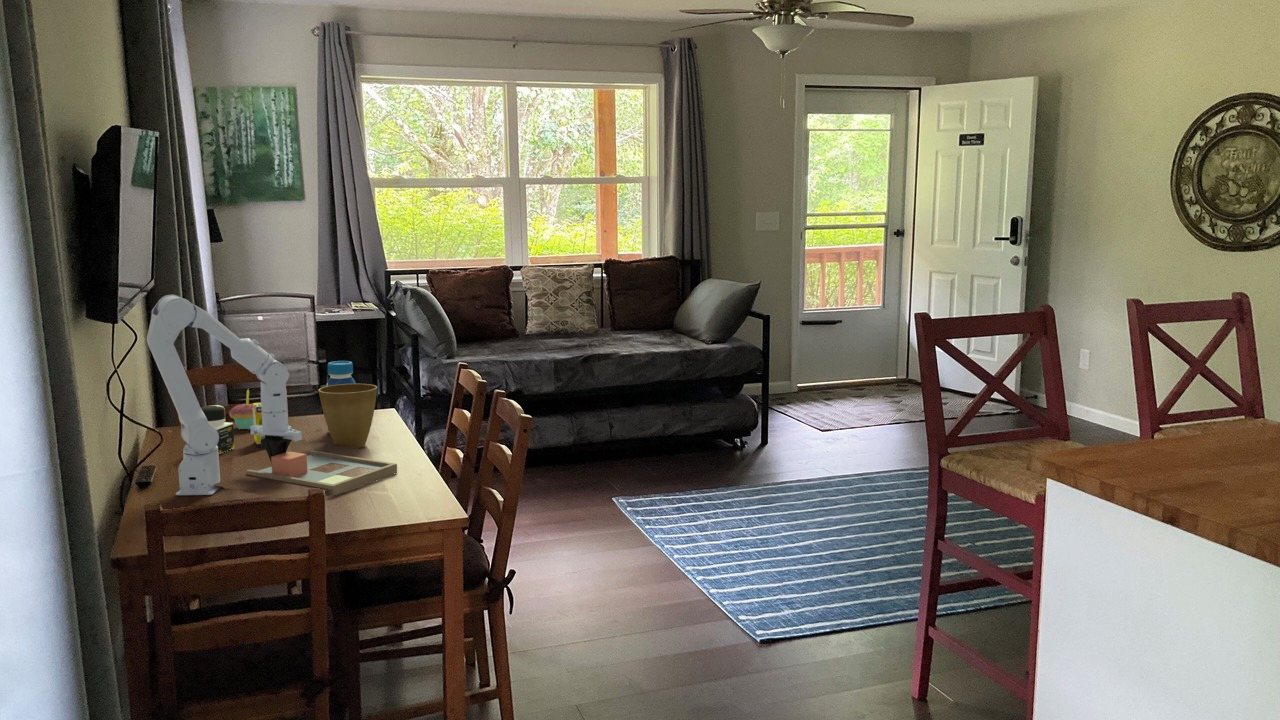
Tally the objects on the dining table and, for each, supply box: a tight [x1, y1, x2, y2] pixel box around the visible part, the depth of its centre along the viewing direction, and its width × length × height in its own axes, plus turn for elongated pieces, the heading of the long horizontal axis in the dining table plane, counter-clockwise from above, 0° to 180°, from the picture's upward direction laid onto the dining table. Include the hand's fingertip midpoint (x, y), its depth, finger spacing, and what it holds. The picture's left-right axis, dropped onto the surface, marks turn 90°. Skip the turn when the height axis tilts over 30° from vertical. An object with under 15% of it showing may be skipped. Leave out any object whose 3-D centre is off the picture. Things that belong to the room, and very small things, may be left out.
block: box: [270, 451, 308, 477], centre depth 224 cm, size 6×6×4 cm
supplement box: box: [251, 402, 265, 447], centre depth 258 cm, size 6×6×11 cm
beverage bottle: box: [325, 360, 357, 434], centre depth 271 cm, size 8×8×20 cm
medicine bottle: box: [201, 404, 236, 456], centre depth 249 cm, size 7×7×12 cm
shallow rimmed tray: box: [245, 450, 398, 497], centre depth 227 cm, size 27×21×2 cm
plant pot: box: [318, 383, 378, 450], centre depth 255 cm, size 15×15×16 cm
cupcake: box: [228, 387, 254, 430], centre depth 276 cm, size 9×8×12 cm
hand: (277, 466), depth 227 cm, fingers closed
